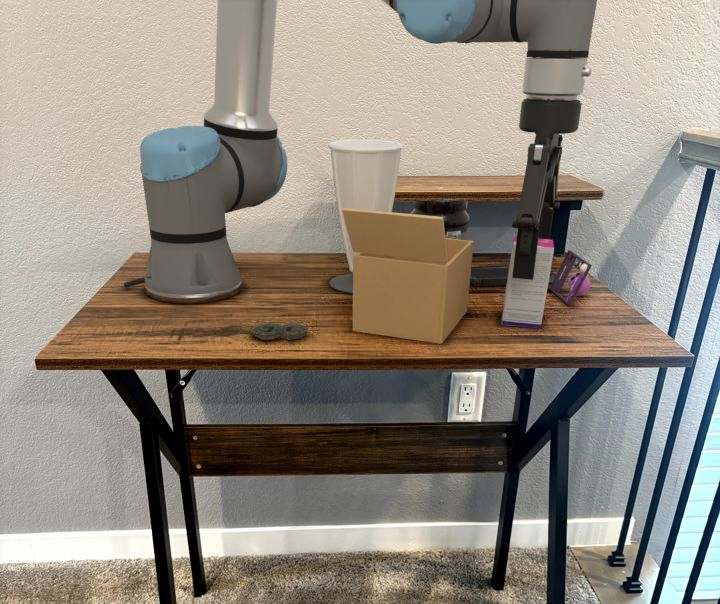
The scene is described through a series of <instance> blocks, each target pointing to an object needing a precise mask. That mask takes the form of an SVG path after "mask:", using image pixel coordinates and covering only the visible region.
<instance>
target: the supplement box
mask: <svg viewBox="0 0 720 604" xmlns="http://www.w3.org/2000/svg"><path fill="white" fill-rule="evenodd" d="M516 240H517V235H516V236H515V235H514V237H513V239H512V246H511V253H510V260H509V264H508V265H509V272H508V278H507V284H506V285H505V291H504V298H503V305H502V312H501V323H500V324H501V325H502V326H510V327H511V326H512V327H522V328H523V327H524V328H533V329H534V328H535V329H540V328H541V327H542V323H543V317H544V311H545V306H546V299H547V294H548V288H549V284H550V283H549V277H550V271H552V265H553V258H554V253H555V245H554V240H553V239H551V238H550V239H538V246H537V254H536V261H535V269H534V277H533V280H530V279H520V278H512V275H513V267H514V258H515V249H516Z"/></svg>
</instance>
